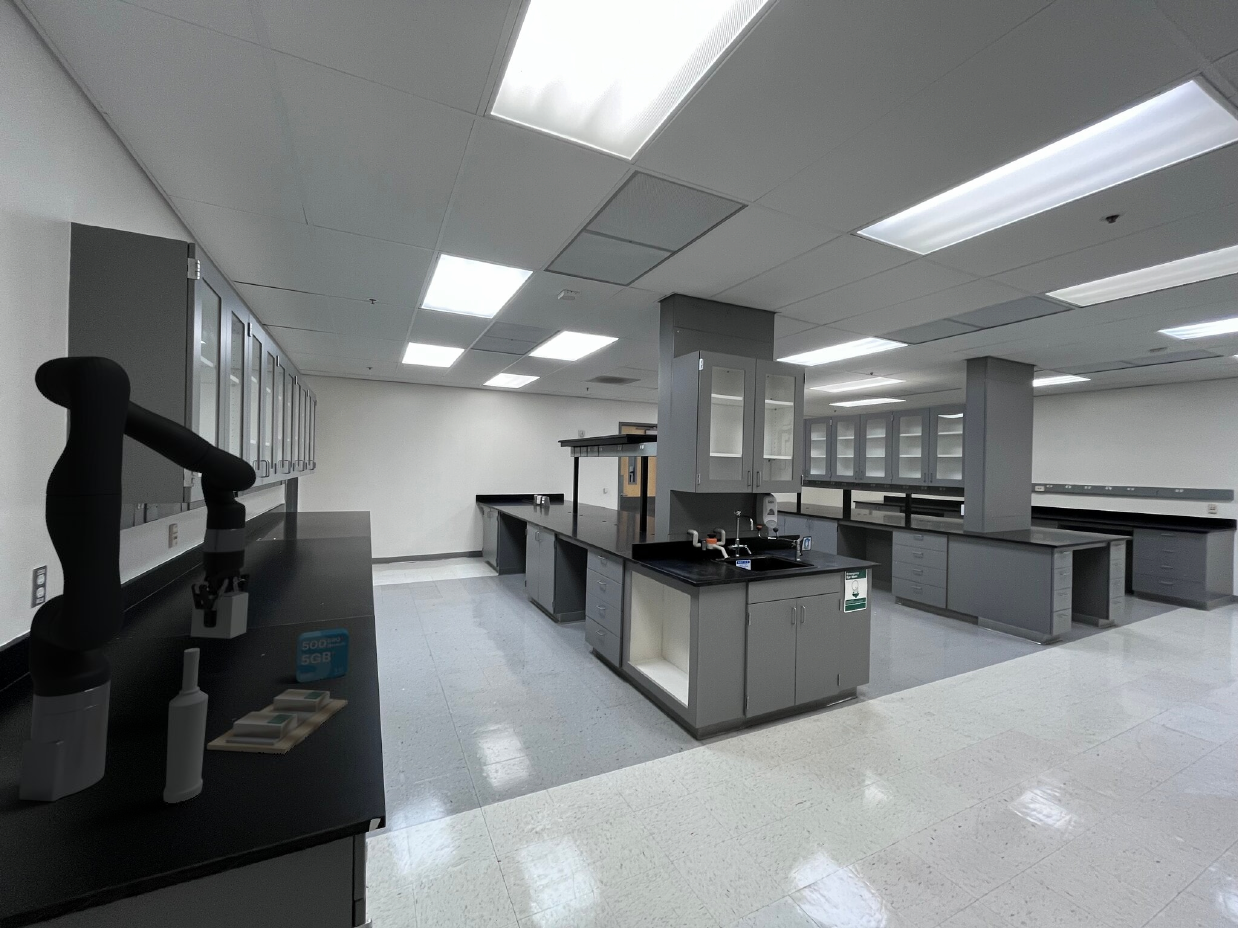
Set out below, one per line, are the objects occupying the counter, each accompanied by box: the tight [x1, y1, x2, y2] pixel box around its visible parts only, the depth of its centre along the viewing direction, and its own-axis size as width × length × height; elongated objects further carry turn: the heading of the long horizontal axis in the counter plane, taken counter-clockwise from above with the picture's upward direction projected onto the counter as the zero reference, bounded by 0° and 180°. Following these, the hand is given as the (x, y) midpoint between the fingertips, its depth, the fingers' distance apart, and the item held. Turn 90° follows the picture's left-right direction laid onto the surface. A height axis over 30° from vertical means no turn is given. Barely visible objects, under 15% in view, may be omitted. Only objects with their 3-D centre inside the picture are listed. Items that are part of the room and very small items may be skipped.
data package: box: [295, 628, 350, 683], centre depth 138 cm, size 12×4×12 cm, turn 124°
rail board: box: [206, 688, 349, 755], centre depth 112 cm, size 22×16×4 cm
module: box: [190, 591, 249, 639], centre depth 114 cm, size 4×9×9 cm, turn 88°
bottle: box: [163, 647, 209, 803], centre depth 87 cm, size 5×5×25 cm
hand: (219, 623), depth 114 cm, fingers closed on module, 4 cm apart
